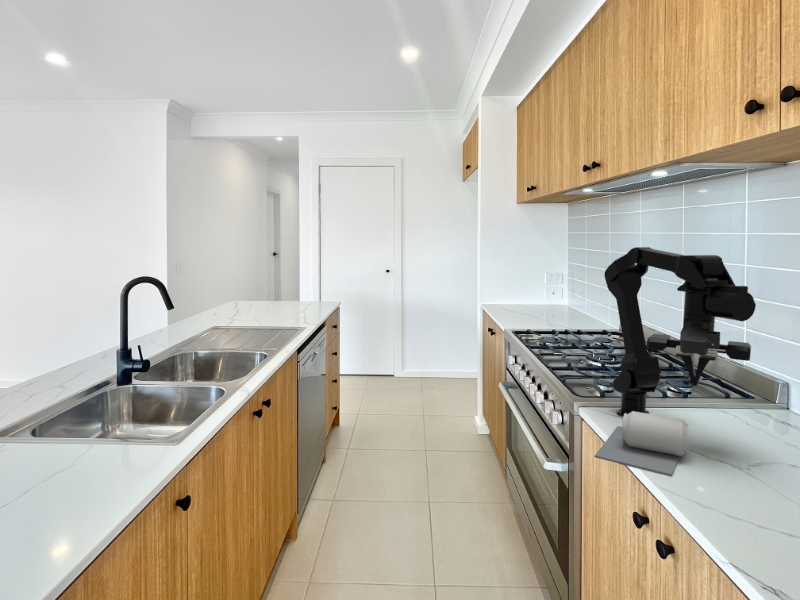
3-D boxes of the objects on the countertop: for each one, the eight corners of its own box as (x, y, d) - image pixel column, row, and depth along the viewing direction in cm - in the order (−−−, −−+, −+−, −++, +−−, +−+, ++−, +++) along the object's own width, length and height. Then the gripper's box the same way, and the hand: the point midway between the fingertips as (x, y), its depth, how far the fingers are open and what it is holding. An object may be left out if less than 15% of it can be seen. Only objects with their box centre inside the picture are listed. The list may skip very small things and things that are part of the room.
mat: (617, 427, 115) (617, 426, 115) (685, 441, 107) (685, 439, 107) (594, 457, 99) (594, 455, 99) (672, 476, 91) (672, 474, 91)
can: (686, 447, 94) (619, 435, 100) (685, 463, 99) (621, 450, 105) (688, 413, 98) (623, 403, 104) (687, 430, 103) (625, 419, 109)
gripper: (643, 314, 102) (639, 386, 104) (752, 323, 91) (746, 403, 93) (653, 309, 111) (649, 375, 113) (753, 316, 100) (747, 389, 102)
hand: (694, 385), depth 105 cm, fingers closed
